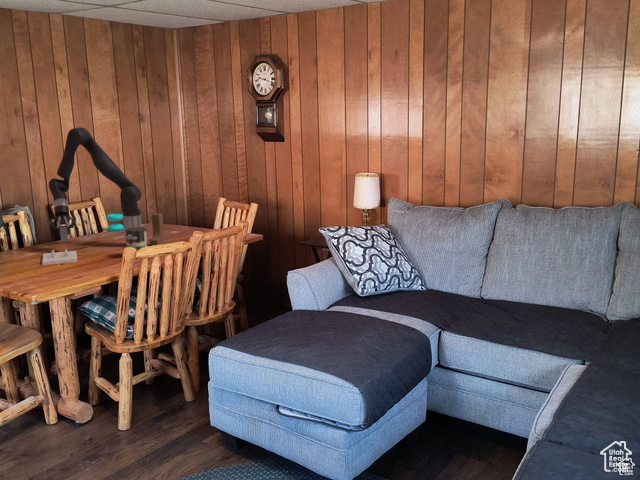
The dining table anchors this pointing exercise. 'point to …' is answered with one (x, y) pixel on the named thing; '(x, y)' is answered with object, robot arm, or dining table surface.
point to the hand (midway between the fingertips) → (64, 234)
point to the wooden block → (157, 229)
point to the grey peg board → (59, 257)
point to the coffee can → (136, 237)
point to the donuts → (115, 218)
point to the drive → (63, 233)
